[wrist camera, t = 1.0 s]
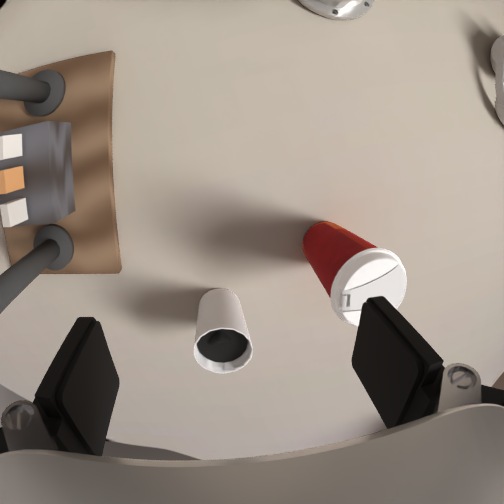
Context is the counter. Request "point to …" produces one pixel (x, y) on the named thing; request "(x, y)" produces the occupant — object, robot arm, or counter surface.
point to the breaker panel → (85, 163)
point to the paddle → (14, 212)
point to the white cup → (221, 333)
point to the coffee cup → (353, 269)
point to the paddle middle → (11, 179)
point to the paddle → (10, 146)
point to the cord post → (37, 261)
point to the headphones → (498, 75)
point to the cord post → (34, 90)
